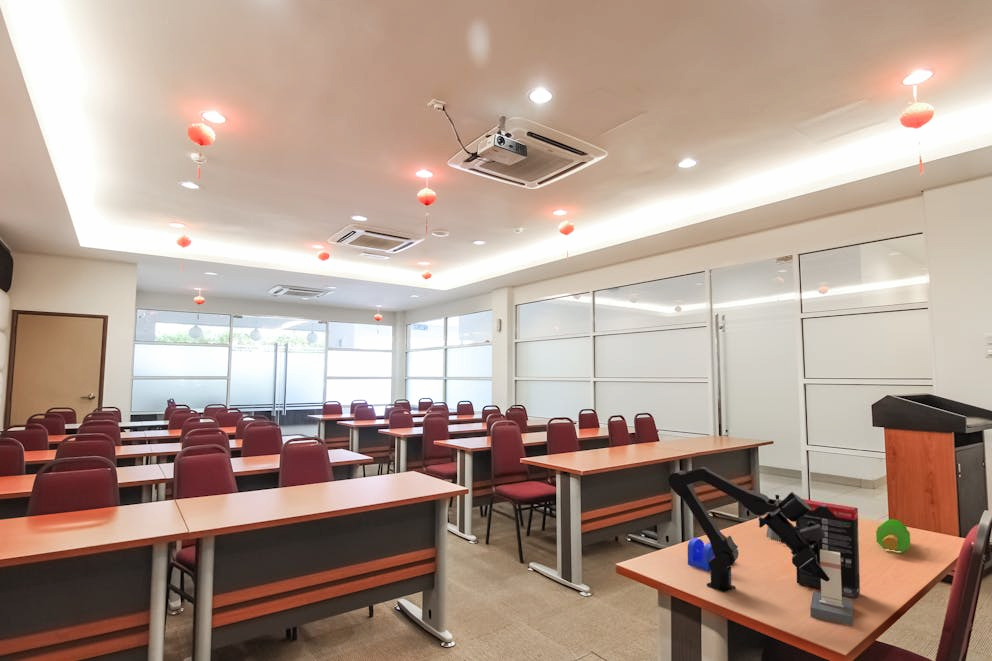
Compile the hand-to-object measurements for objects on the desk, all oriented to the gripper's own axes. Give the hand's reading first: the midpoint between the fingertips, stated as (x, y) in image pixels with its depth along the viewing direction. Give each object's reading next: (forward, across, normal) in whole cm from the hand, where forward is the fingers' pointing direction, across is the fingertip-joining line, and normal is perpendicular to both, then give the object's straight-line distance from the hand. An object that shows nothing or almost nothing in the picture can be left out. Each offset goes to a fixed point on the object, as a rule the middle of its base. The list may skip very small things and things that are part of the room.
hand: (829, 575), depth 155 cm
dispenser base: (+7, 0, +7) cm, 10 cm away
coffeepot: (-7, +73, +21) cm, 76 cm away
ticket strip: (+7, 0, +7) cm, 10 cm away
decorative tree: (+22, +87, -7) cm, 90 cm away
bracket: (-19, +22, +33) cm, 44 cm away
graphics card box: (+7, +20, +8) cm, 22 cm away
